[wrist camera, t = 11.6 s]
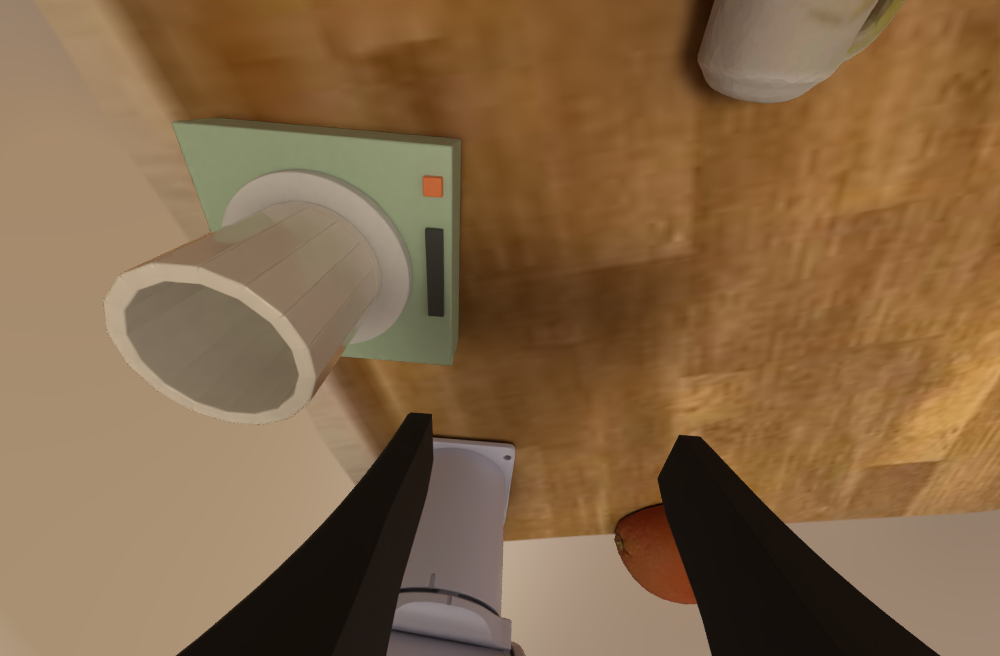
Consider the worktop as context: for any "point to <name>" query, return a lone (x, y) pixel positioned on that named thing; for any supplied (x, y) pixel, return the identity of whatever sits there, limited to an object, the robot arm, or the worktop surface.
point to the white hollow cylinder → (247, 312)
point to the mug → (785, 43)
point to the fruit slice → (653, 555)
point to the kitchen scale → (352, 213)
